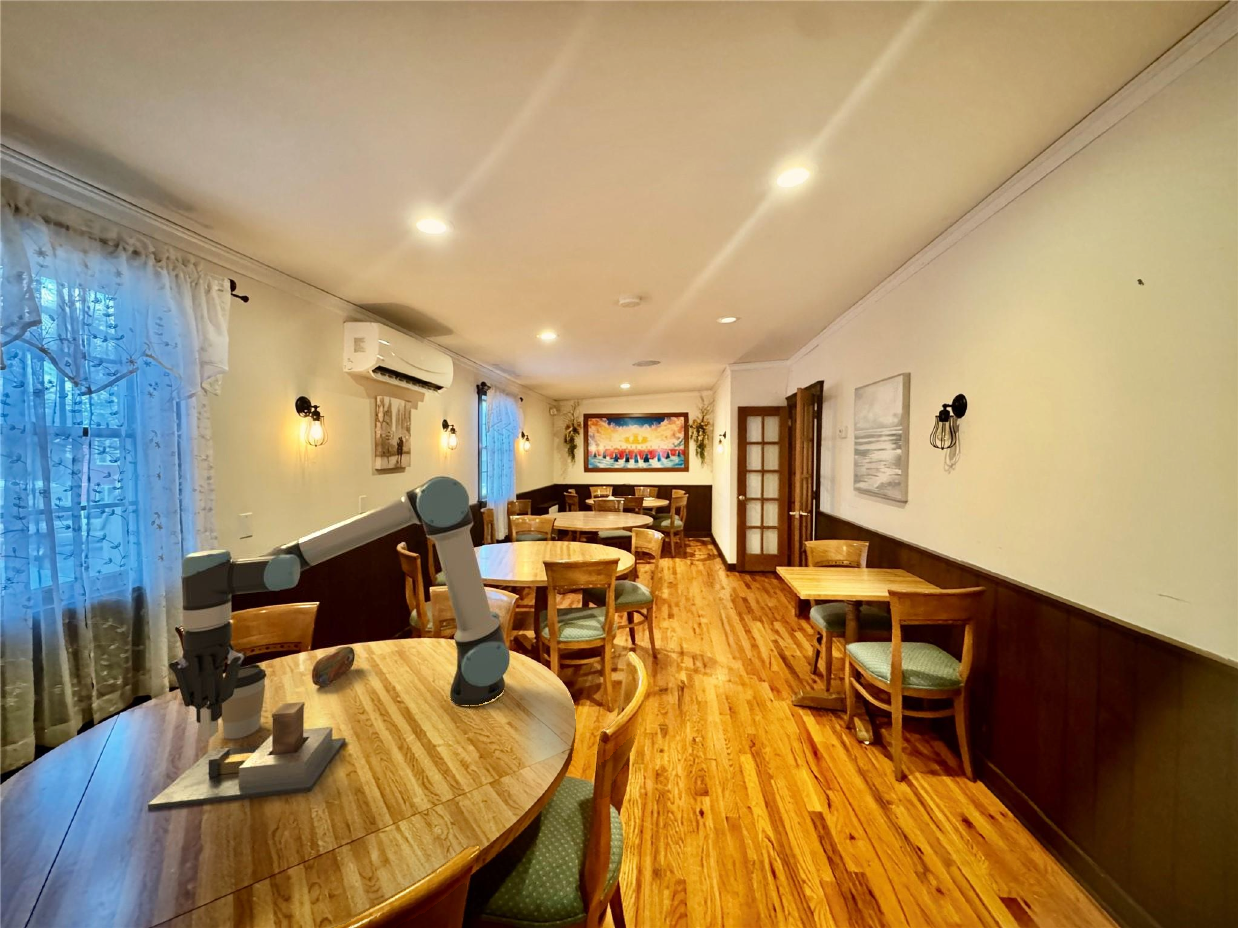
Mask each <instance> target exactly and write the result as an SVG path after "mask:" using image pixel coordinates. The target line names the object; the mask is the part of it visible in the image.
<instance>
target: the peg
mask: <svg viewBox="0 0 1238 928" xmlns="http://www.w3.org/2000/svg"><path fill="white" fill-rule="evenodd" d="M304 713H305V701H300V702H299V701H298V702H287V703H282V704H281V705H280V706H279V707H278V708H277V709H276V710H275V711H274V712H272V713H271V718H272V733H271V735H272V755H279V754H289V753H297V752H298V750H299V749H300V748H301V747H302V746H303V729H304V727H305V726H304V723H305V722H304V716H305V715H304Z"/></svg>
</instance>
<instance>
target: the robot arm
mask: <svg viewBox="0 0 1238 928" xmlns="http://www.w3.org/2000/svg"><path fill="white" fill-rule="evenodd" d="M473 518H474V517H473V515H472V511H471V507H470V497H469V493H468V491H467V489H466V487H465V486H464V485H463V484H462V483H461V482H460V481H458V480H456V479H455V478H452V477H449V476H441V475H440V476H435V477H433V478H430V479H429V480H426V482H424V483H422V484H421V485H419V486H417V487H415V488H413V489H411V490H410V489H409V490H407V491H406V492H404V493H403V495H402V497H401V498H398V499H395V500H393V501H390V502H388V503H385V504H383V505H381V506H379V507H375V508H373V509H371V510H368V511H365V512H363V513H360V514H358V515H356V516H353V517H351V518H348V519H345V520H343V521H340V522H338V523H336V524H334V525H331V526H328V527H325V528H324V529H321V530H318V531H316V532H313V533H310V534H309V535H305V536H304V537H301V538H299V539H296V540H293V541H292V542H288V543H285V544H284V543H283V544H281V545H279V546H276V547H274V548H273V549H272V550H270V551H269V552H267V553H265V554H263V555H262V556H255V557H254V556H253V557H244V558H232V556H231V555H232V554H231V551H229V550H228V549H212V550H203V551H196V552H192V553H190V554H187V555H186V556H184V557H183V559H182V566H181V576H180V579H181V593H182V594H181V596H182V610H181V611H182V612H181V613H182V615H181V616H182V618H181V619H182V620H181V621H182V629H184V630H183V631H182V646H183V649H184V651H183V653H182V656H181V657H179V658H178V659H176V660H174V661H172V662H170V663H169V664H168V667H169V669H170V670H171V671H172V672H173V674H174V675H175V679H176V682H177V686H178V689H179V692H180V695H181V698H182V702H183V705H184V707H187V708H189V707H194V708H195V712H196V713H195V714H196V715H195V716H196V723H197V724H200V741H209V740H211V739H212V738H213V737H215V735H217V733H219V720H220V719H222V718H221V717H222V703H224V702H225V701H227V700H228V699H229V698H231V697H232V696H233V693H234V689H235V685H236V681H237V677H238V673H239V669H240V668H241V665H242V663H243V661H244V660H245V658H246V657H247V653H246V652H241V653H240V652H237V651H235V650H234V646H233V645H232V643H231V642H232V637H233V629H232V628H233V627H232V625H233V624H232V622H231V621H230V620H231V619H232V595H239V594H248V593H249V594H250V593H258V592H271V591H275V592H278V591H280V590H287V589H291V588H294V587H296V585H297V584H298V583H299V580H300V576H301V572H302V571H304V570H306V569H309V568H310V567H311V568H312V566H315V565H317V564H319V563H322V562H325V561H327V560H329V559H331V558H334V557H336V556H338V555H341V554H343V553H346V552H349V551H351V550H353V549H356V548H357V547H360V546H363V545H365V544H368V543H369V542H372V541H375V540H376V539H378V538H381V537H385V536H386V535H388V534H391V533H393V532H396V531H398V530H401V529H402V528H405V527H407V526H409V525H412V524H417V525H421V524H422V526H423V529H424V533H425V536H426V537H427V538H428V539H431V540H432V541H433V542H434V544H435V548H436V552H437V555H438V559H439V562H440V566H441V571H442V574H443V577H444V581H445V585H446V589H447V592H448V596H449V600H450V603H451V607H452V610H453V614H454V615H453V616H454V618H455V622H456V628H457V630H456V632H455V633H454V635H453V638H454V643H455V647H456V650H457V651H456V652H457V653H456V654H457V656H456V657H457V658H456V663H457V664H456V671H455V675H454V678H453V681H452V683H451V687H450V690H449V693H450V695H449V696H450V697H449V699H450V698H451V699H450V701H451V702H452V701H453V702H454V703H455V704H454V703H453V702H452V703H453V704H454V705H456V704H458V705H469V706H470V705H479V704H483V703H485V702H489V701H491V700H492V699H495V698H496V697H497V696H499V695H500V694H501V693H502V692H503V690H504V688H505V689H506V682H505V678H504V675H505V674H506V673H507V671H508V668H509V665H510V663H511V661H510V660H511V658H510V657H511V655H510V650H509V648H508V647H507V645H506V642H505V638H504V634H503V630H502V626H501V620H500V614H499V613H498V612H496V611H492V610H491V608H490V604H489V601H488V597H487V591H486V590H485V586H484V581H483V578H482V574H481V569H480V566H479V561H478V559H477V555H476V551H475V547H474V544H473V541H472V536H471V533H470V532H471V531H470V530H471V528H472V527H473V525H474V519H473ZM226 661H227V664H228V665H227V667H226V666H225V665H226V664H225V663H226ZM225 667H226V670H225V674H224V669H225ZM223 677H224V681H223ZM458 705H457V706H458Z"/></svg>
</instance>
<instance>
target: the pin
mask: <svg viewBox="0 0 1238 928" xmlns="http://www.w3.org/2000/svg"><path fill="white" fill-rule="evenodd" d="M218 750H219V749H218ZM252 754H253V753H246V754H236V755H230V747H226V748H220V750H219V751H218V752H217V753H216V754H215V755H214V756H212V757H211V758H210V759H209V774H208V777H215V776H218V775H219V774H227V773H237V772H239V767H240V766H241V765H242V764H243V763H244V762H245V761H246V760H247V759H248V758H249V757H250V756H251V755H252Z"/></svg>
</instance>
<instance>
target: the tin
mask: <svg viewBox="0 0 1238 928" xmlns="http://www.w3.org/2000/svg"><path fill="white" fill-rule="evenodd" d="M355 656H356V655H355V650H354V649H353V647H351V646H340V647H337V648H336V649H333V650H332V651H330V652H329V653H327V654H325V655H324V656H322V657H320V658H319V659H318V660H317V661H316V662H315V663H314V665H313V668H312V671H311V680H312V684H313V685H315V686H316V687H328V685H329V686H330V685H332V684H333V683H335V682H336V681H338V680H340V677H341V676H342V677H344V676H345V675H347V674H348V673H349V672H350V671H351V670H352V667H353V665H354V663H355ZM348 671H349V672H348ZM347 672H348V673H347ZM346 673H347V674H346ZM343 675H344V676H343ZM342 677H341V678H342ZM337 679H338V680H337ZM334 681H335V682H334Z"/></svg>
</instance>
